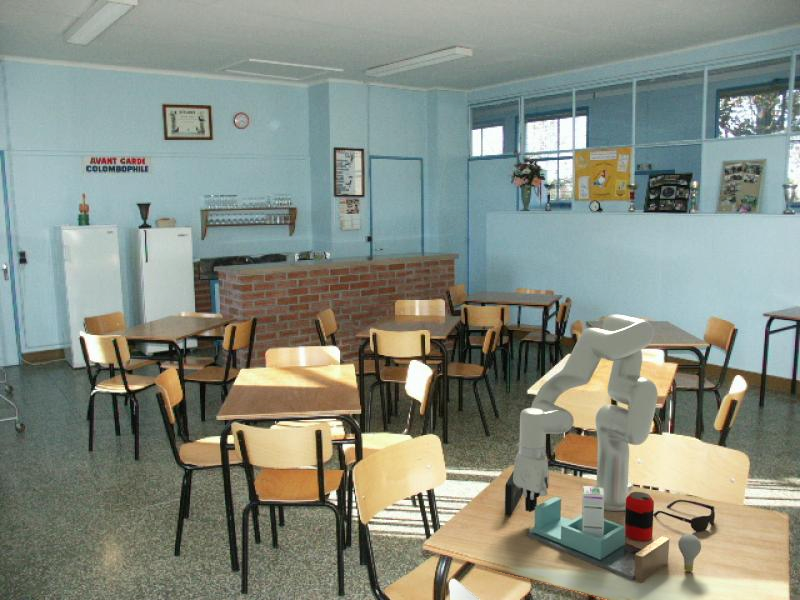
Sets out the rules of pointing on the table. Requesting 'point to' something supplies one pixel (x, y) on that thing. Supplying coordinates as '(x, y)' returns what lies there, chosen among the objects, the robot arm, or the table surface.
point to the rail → (622, 557)
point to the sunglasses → (697, 522)
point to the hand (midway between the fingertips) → (530, 509)
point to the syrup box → (593, 511)
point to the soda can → (639, 516)
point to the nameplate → (511, 495)
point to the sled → (576, 531)
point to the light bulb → (689, 550)
